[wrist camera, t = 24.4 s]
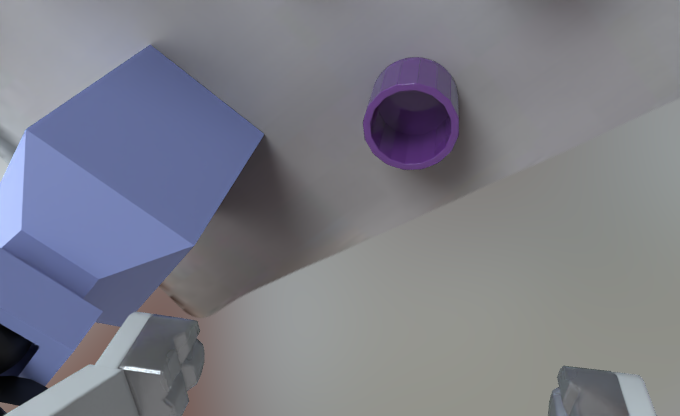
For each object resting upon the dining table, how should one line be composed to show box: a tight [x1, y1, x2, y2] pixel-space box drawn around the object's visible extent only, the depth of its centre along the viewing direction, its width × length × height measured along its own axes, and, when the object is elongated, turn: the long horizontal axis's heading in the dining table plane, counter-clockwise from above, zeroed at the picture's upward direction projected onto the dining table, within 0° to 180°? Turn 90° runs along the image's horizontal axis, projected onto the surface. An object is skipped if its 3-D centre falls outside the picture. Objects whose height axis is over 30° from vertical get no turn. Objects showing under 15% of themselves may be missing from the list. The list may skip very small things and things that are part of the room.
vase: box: [0, 45, 264, 416], centre depth 30 cm, size 14×12×35 cm
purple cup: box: [363, 57, 459, 170], centre depth 37 cm, size 6×6×5 cm
